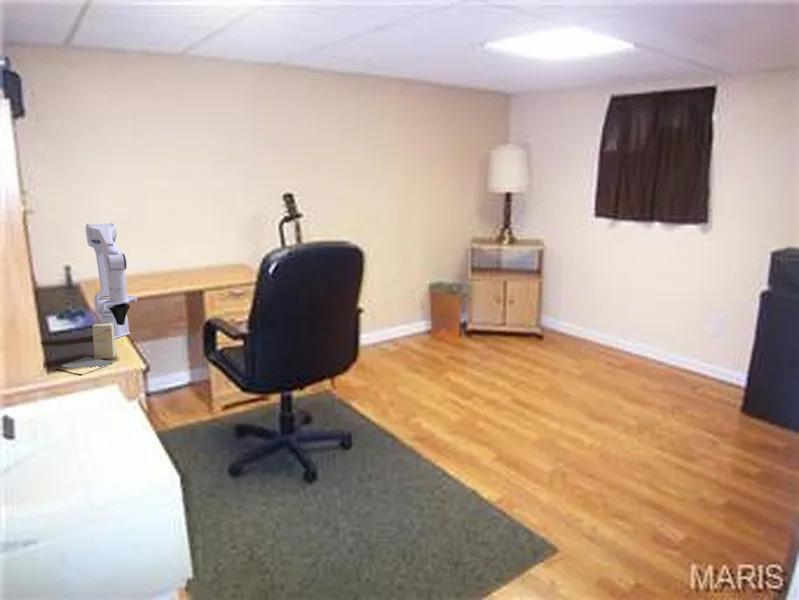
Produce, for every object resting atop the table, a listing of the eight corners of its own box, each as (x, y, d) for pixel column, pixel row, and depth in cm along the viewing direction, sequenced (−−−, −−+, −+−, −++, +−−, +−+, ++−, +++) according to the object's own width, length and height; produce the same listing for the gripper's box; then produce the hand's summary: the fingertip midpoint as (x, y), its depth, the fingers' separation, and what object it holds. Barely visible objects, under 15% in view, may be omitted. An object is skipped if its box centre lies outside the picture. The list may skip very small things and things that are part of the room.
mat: (87, 358, 200) (87, 356, 200) (113, 363, 195) (112, 362, 195) (56, 369, 189) (55, 367, 189) (82, 375, 185) (82, 373, 184)
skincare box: (94, 359, 199) (91, 325, 196) (97, 355, 203) (94, 322, 200) (114, 358, 201) (111, 325, 198) (116, 354, 205) (113, 321, 202)
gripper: (108, 293, 195) (112, 331, 198) (142, 285, 208) (144, 321, 211) (93, 290, 198) (97, 328, 201) (127, 283, 211) (130, 318, 214)
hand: (120, 324), depth 206 cm, fingers closed
